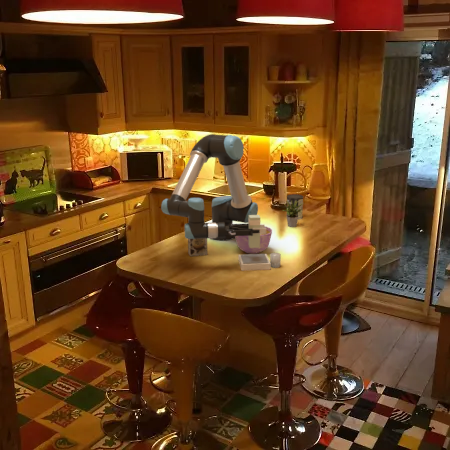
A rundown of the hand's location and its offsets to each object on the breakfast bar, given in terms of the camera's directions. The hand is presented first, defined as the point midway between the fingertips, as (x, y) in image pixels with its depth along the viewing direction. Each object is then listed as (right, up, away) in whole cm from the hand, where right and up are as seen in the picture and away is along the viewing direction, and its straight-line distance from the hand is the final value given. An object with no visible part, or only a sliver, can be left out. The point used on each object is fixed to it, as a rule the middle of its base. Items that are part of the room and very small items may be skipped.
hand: (265, 229), depth 258 cm
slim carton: (-5, -8, +2) cm, 10 cm away
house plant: (+22, +1, +67) cm, 70 cm away
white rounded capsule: (+5, -18, +3) cm, 19 cm away
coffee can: (+25, +6, +86) cm, 90 cm away
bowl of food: (-5, -12, +24) cm, 28 cm away
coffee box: (-33, -13, +21) cm, 42 cm away
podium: (-5, -18, +5) cm, 19 cm away
